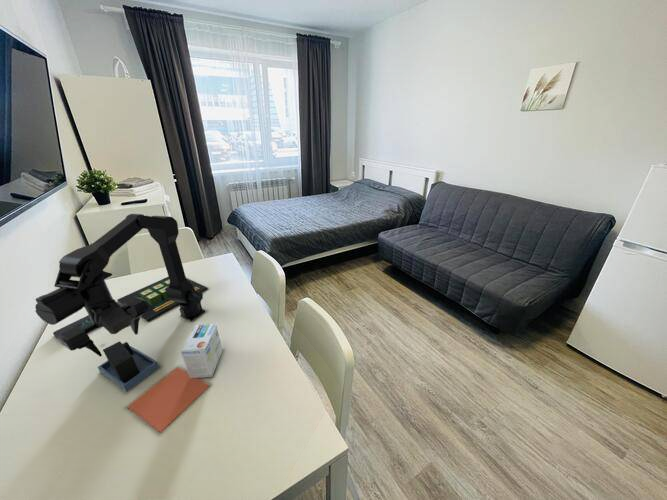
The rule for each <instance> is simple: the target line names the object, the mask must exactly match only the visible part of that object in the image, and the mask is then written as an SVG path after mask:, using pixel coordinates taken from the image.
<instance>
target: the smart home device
mask: <svg viewBox="0 0 667 500" xmlns="http://www.w3.org/2000/svg"><path fill="white" fill-rule="evenodd" d="M117 304H118V305H119V306H120V307H123V304H121V303H120V302H117ZM91 324H93V322H92V320H90V318H89V315H88V314H87V315H86V316H84V317H82V318H80V319H78V320H76V321H75V320H74V321H73V322H71V323H69V324H67V325H65V326H63V327H61V328H59V329H56V330H55V331H53V332H52V334H53V336H54V338H56V339H57V340H59V335H60V334H61V333H63V332H65V331H67V330H69V329H71V328H73V327H76V326H77V327H79V328H81V329H83V328H85V327H87V326H89V325H91Z"/></svg>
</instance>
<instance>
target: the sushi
mask: <svg viewBox="0 0 667 500" xmlns="http://www.w3.org/2000/svg"><path fill="white" fill-rule="evenodd" d="M187 279H188V280H189V281H190V282H191V283H192V285H193V287H194V289H195V291H196V292H199V293H203V292H205V291H207V290H209V289H208V286H205V285H203V284H201V283H198V282H196V281H195V280H192V279H189V278H187ZM169 283H170V279H169V276H166V277H164V278H162V279H159V280H157V281H155V282H153V283H150V284H148V285H147V286H145V287H142V288H140V289H138V290H135V291H133V292H131V293H128V294H126V295H124V296H122V297H120V298H117V299H116V300H117V303H119V304H121V305H123V303H124V302H126V301H128V300H130V299H132V298H134V297H139V298H141V299H143V300H146V301H147V302H148V305H149V309H148V310H146V312H145V313H144V314H143V315H142V316H141V317H140V318H142V319H144V320H145V321H147V322H151V321H152V320H154V319H156V318H158V317H160V316H162V315H164V314H165V313H167V312H169V311H171V310H173V309H174V308H176V307H178V306H180V305H179V304H180V303H175V302H174V301H172V300H170V299H169V298H167V293H166V291H165V288H167V287H168V286H169Z"/></svg>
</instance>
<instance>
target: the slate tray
mask: <svg viewBox="0 0 667 500" xmlns="http://www.w3.org/2000/svg"><path fill="white" fill-rule="evenodd" d="M130 347H131V349H132V351H133V353H134V354H133V355H132V357H133V359H134V361H135V363H136V366H137V368H138V370H139V372H140V373H139V374H138V375H136V376H135V377H134V378H132V379H131V380H129V381H128V382H127V383H123V382H122V381H121V380H120V378H119V377H118V375H117V374H116V372H115V371H114V369H113V368H112V366H111V365H110V363H109V361H108V360H106V361H105V362H103V363H101V364H100V365H98V366H97V369H98V371H99V373H100V374H101V375H103V376H104V377H106V378H107V379H108V380H109V381H111V382H112V383H114V384H115V385H116V386H118V387H119V388H120V389H122V390H124V391H125V392H126V393H128V392H129V391H131V390H132V389H133V388H134V387H136V386H138V385H139V384H140V383H141V382H143V381H144V380H146V379H147V378H148V377H149V376H151V375H152V374H153V373H155V372H156V371H157V370H158V369H160V364H159V361H157V360H155V359H153V358H152V357H150V356H149V355H147V354H145V353H144V352H142V351H140V350H138V349H137V348H135V347H133V346H132V345H130Z"/></svg>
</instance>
